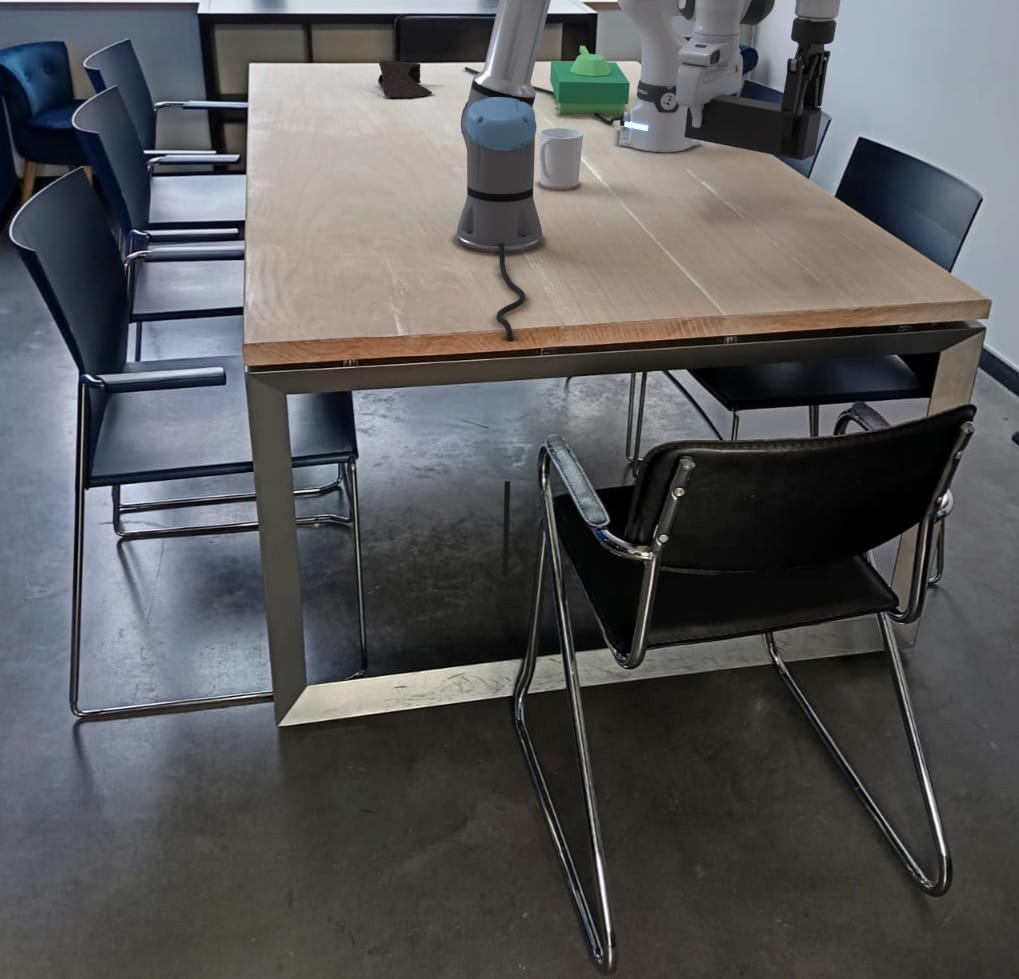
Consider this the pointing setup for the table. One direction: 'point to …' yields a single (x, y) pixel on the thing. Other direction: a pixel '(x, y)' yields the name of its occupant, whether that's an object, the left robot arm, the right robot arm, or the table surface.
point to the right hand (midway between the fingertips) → (706, 123)
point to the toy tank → (589, 85)
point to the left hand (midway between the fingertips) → (794, 150)
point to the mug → (560, 157)
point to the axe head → (401, 79)
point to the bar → (753, 126)
